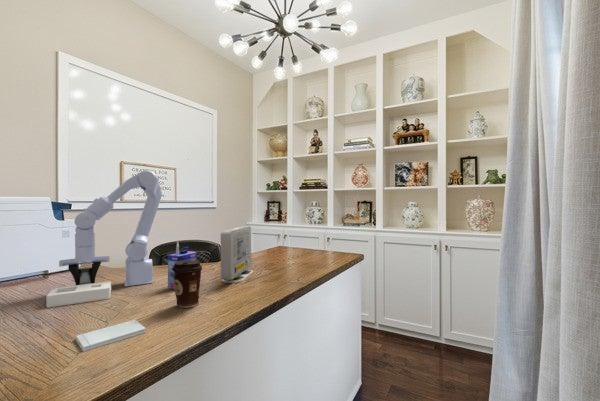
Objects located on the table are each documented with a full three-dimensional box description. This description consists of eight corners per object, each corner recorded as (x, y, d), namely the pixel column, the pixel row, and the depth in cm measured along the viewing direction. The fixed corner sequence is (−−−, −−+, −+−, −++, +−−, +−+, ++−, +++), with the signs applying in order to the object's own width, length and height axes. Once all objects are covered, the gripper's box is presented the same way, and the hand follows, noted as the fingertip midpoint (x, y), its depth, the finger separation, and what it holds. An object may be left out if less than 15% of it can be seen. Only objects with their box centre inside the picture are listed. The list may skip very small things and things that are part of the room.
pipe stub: (92, 288, 110) (92, 266, 110) (91, 291, 106) (91, 268, 106) (79, 290, 108) (79, 268, 108) (77, 293, 104) (77, 270, 104)
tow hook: (178, 264, 153) (168, 267, 144) (179, 239, 154) (168, 240, 145) (194, 264, 152) (184, 268, 143) (194, 239, 153) (184, 240, 144)
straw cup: (178, 290, 106) (178, 249, 106) (166, 288, 108) (166, 248, 108) (197, 283, 115) (197, 245, 115) (186, 281, 117) (186, 244, 117)
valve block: (111, 290, 106) (111, 281, 106) (109, 298, 98) (109, 287, 98) (53, 298, 99) (53, 288, 99) (46, 307, 90) (46, 296, 90)
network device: (238, 269, 138) (238, 226, 138) (257, 269, 136) (256, 226, 136) (215, 285, 112) (214, 231, 112) (237, 285, 111) (237, 231, 111)
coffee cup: (173, 311, 85) (172, 266, 85) (170, 303, 92) (170, 261, 92) (204, 306, 89) (204, 262, 89) (200, 298, 96) (199, 258, 97)
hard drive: (134, 319, 77) (75, 334, 68) (146, 327, 72) (83, 346, 63) (134, 325, 77) (75, 341, 68) (146, 334, 72) (83, 354, 63)
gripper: (109, 243, 114) (110, 278, 114) (61, 246, 107) (62, 284, 107) (108, 245, 108) (109, 283, 108) (57, 249, 101) (58, 289, 101)
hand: (85, 284), depth 107 cm, fingers closed on pipe stub, 4 cm apart
